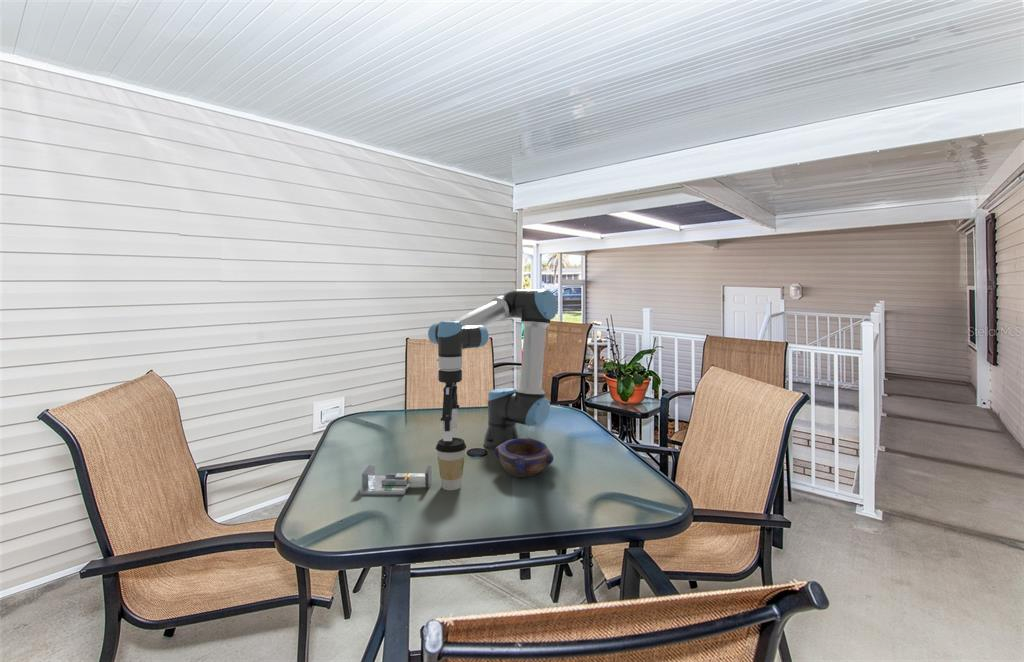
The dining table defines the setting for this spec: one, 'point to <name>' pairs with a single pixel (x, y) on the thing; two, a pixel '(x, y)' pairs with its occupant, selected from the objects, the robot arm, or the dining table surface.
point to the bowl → (523, 456)
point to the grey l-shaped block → (382, 484)
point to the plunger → (417, 477)
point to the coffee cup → (451, 462)
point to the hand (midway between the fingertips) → (450, 434)
